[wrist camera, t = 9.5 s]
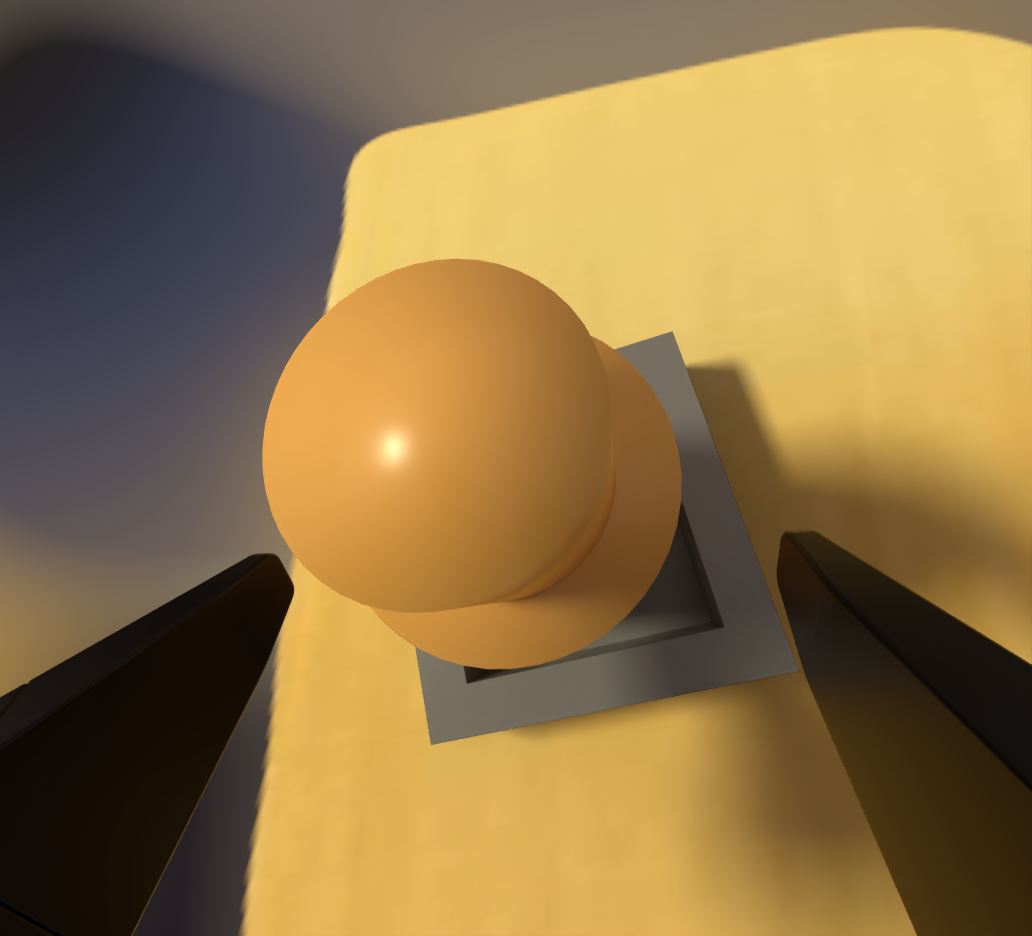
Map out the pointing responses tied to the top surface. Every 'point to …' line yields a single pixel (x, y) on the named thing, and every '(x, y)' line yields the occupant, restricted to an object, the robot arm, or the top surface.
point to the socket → (643, 605)
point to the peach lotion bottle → (472, 465)
